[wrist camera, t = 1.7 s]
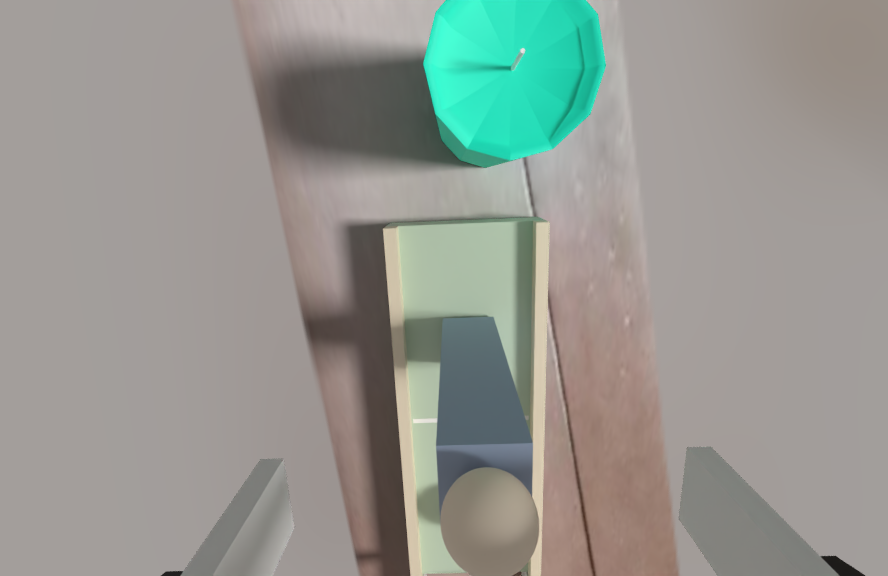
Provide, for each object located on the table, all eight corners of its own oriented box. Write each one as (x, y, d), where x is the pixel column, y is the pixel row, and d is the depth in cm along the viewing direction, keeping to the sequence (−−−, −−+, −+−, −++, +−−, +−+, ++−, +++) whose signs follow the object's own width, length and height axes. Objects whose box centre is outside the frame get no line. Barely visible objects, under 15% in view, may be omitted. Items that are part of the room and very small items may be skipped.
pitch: (390, 222, 25) (382, 228, 22) (538, 216, 25) (549, 222, 22) (414, 549, 32) (411, 587, 29) (532, 547, 31) (540, 584, 29)
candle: (415, 91, 23) (381, 7, 12) (509, 32, 23) (572, -122, 11) (466, 186, 25) (480, 194, 13) (557, 134, 24) (659, 92, 12)
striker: (442, 318, 24) (432, 517, 10) (493, 316, 24) (555, 514, 10) (444, 364, 25) (437, 611, 11) (493, 363, 25) (552, 609, 11)
